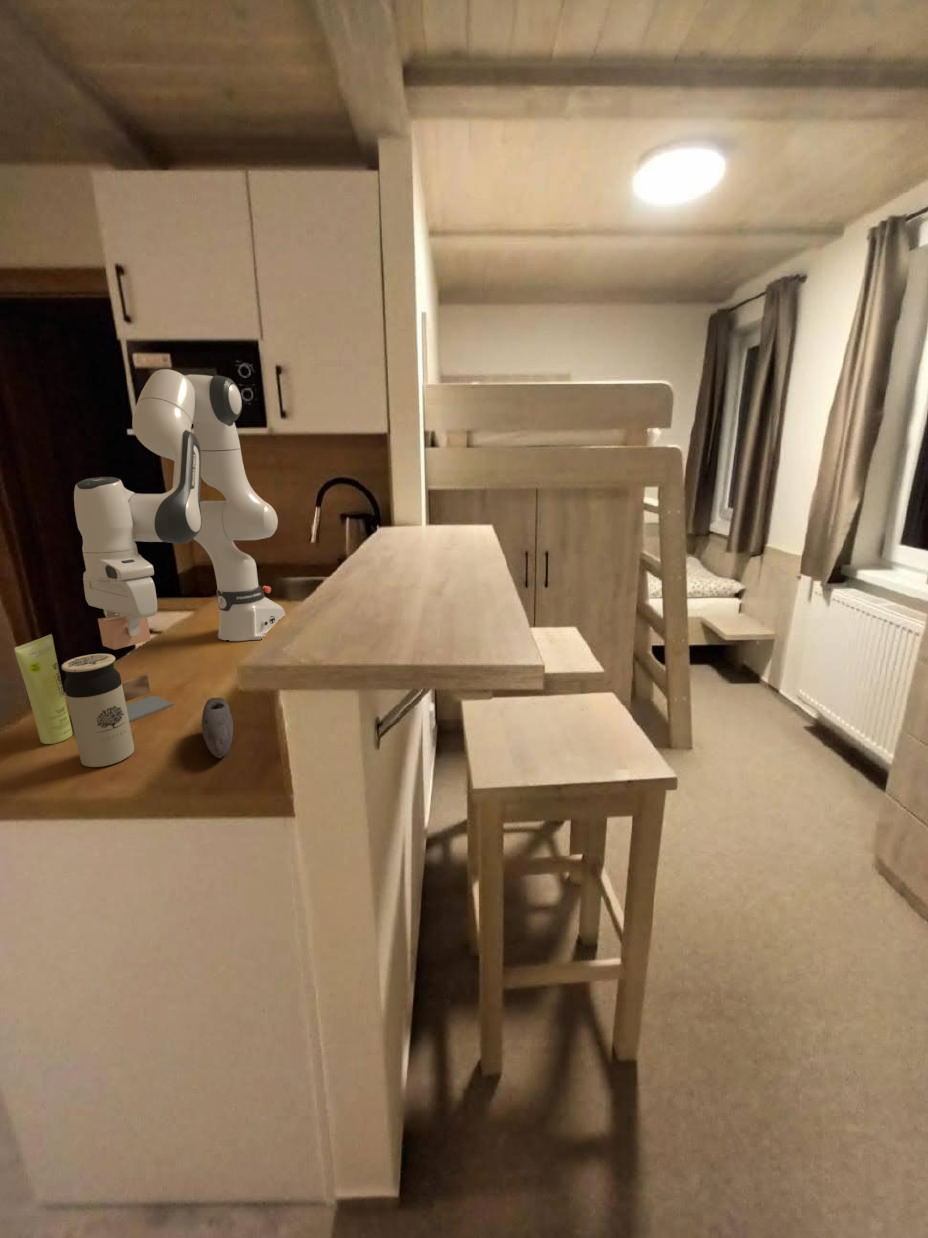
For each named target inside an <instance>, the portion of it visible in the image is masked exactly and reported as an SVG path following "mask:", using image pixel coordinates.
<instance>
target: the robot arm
mask: <svg viewBox="0 0 928 1238" xmlns="http://www.w3.org/2000/svg"><path fill="white" fill-rule="evenodd" d="M242 401H243V399H242V396H241V391H240V389H239V387H238V385H237V384H236V383H235V382H234V381H233V380H232V379H231V378H229V377H226V376H222V375H214V376H212V375H205V374H191V373H190V374H187V375H186V374H182V373H180V372H178V371H176V370H173V369H170V368H169V369H168V368H167V369H166V368H164V369H159V370H156V371H154V372H153V373H152V374H151V375H150V377H148V380H147V381H146V383H145V384H144V387H143V388H142V390H141V392H140V395H139V397H138V400H137V402H136V405H135V409H134V411H133V414H132V420H131V421H132V425H131V426H132V429H133V430H132V431H133V433H134V435H135V436H136V438H137V440H138V441H139V442H140V443H141V444H142V445H143V446H144V447H145V448H147V450H149V451H150V452H152V453H154V454H156V456H160V457H161V458H162V457H163V458H166V459H168V460H171V461H173V462H174V463H173V464H174V465H173V478H172V481H173V482H172V488H171V489H169V490H168V491H166V492H164V493H136V492H134V491H131V490H129V489H127V488H126V487H125V486H124V483H123V482H122V480H121V479H120V478H117V477H113V476H97V477H90V478H85V479H83V480H80V481H78V482H77V483H76V484H75V485H74V486H75V487H74V491H73V503H74V512H75V513H74V514H75V519H76V524H77V529H78V531H79V532H80V535H81V537H82V547H81V549H82V556H83V561H84V565H85V571H84V572H83V575H82V576H83V578H82V580H83V590H84V596H85V600H86V602H87V604H88V606H91V607H94V608H98V609H102V610H103V614H104V616H105V617H109V616H114V615H118V614H123V615H125V617H126V620H128V624H127V627H125V629H126V634H127V635H129V636H132V637H133V636H137V635H139V633H140V632H139V623H140V619H142V618H146V617H147V618H150V617H154V616H156V615H157V611H158V599H157V593H156V592H157V591H156V586H155V582H154V580H153V578H152V577H151V576H154V575H155V570H154V565H153V564H151V563H150V562H149V561H148V560H146V559H145V558H143V557H142V555H141V554H140V553H139V552H138V547H137V543H136V542H145V543H146V542H147V543H148V542H149V543H155V542H156V543H157V542H158V543H163V542H164V543H171V544H178V545H186V544H188V543H190V542H191V541H192V540H194V541H196V542H197V543H198V544H199V545H201V547H202V548H203V549H204V550H205V551H206V554H208V556H209V559H210V560H211V563H212V566H213V569H214V575H215V580H216V586H217V589H216V599H217V605H218V609H219V624H218V625H219V627H218V633H217V638H218V639H219V640H223V641H226V640H229V641H228V642H242V641H243V642H244V641H251V640H252V641H254V640H255V641H256V640H257V641H258V640H259V641H260V640H261V639H262V637H263V636H265V635H266V634H267V632H268V631H269V630H270V629H271V628H272V627H273V626H274V625H275V624H276V623H277V622H278V620H279V619H281V618H282V617H283V616H285V615H286V612H285V609H284V608H283V606H281V605H280V604H278V603H276V602H275V601H273V600H271V599H269V598H268V597H266V595H265V594H270V593H271V592H272V588H271V587H270V586H268V585H267V586H266V585H263V586H261V585H259V579H258V569H257V564H256V561H255V559H254V558H253V557H252V556H251V555H250V554H248V553H247V552H246V553H245V552H243V551H242V550H240V549H239V548H238V547H237V546H236V544H235V542H234V541H258V540H262V539H267V538H271V537H272V536H273V535H274V534H275V533H276V531H277V529H278V524H279V523H278V522H279V519H278V515H277V513H276V510H275V509H274V507H273V506H272V505H270V504H269V503H268V502H266V501H265V500H264V499H263V498H262V497H260V496H259V495H258V493H256V492H255V491H254V489H253V487H252V486H251V484H250V482H249V480H248V477H247V474H246V470H245V466H244V462H243V455H242V448H241V442H240V438H239V434H238V430H237V426H236V422H235V421H237V420H238V418H239V417H240V415H241V412H242V410H243V409H242V408H243V402H242ZM192 425H193V432H192ZM202 480H203V481H204V483H206V485H208V486H209V487H211V488H214V489H216V490H217V491H219V492H220V493H221V494H222V495H223V497H224V498H225V500H203V501H201V484H202V483H201V481H202ZM264 593H265V594H264ZM262 640H263V639H262ZM262 640H261V641H262Z"/></svg>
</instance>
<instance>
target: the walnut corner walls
mask: <svg viewBox="0 0 928 1238" xmlns="http://www.w3.org/2000/svg"><path fill="white" fill-rule="evenodd" d="M121 682H122V687H123V692H124V697H125V702H127V701H130V700H133V699H136V698H139V697H141V696H144V695H147V694H150V693H151V688H150V684H149V683H150V682H149V677H148V675H147V674H143V675H139V676H137V677H134V678H130V679H127V680H124V681H121Z"/></svg>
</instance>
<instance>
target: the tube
mask: <svg viewBox="0 0 928 1238" xmlns="http://www.w3.org/2000/svg"><path fill="white" fill-rule="evenodd" d="M53 637H54V636H53V635H52V633H50V634H48V635H46V636H43V637H41V638H38V639H35V640H32V641H30V642H27V643H24V644H21V645H19V646H15V647H14V648H13V649H14V654H15V657H16V660H17V664H18V666H19V669H20V673H21V675H22V680H23V683H24V686H25V689H26V692H27V696H28V699H29V702H30V707H31V711H32V714H33V717H34V722H35V724H36V729H37V733H38V737H39V741H40V743H42V744H45V745H52V744H53V745H54V744H58V743H61V742H64V741H66V740H68V739H70V738H71V737H72V735H73V733H74V731H73V727H72V724H71V723H72V722H71V718H70V715H69V714H70V713H69V709H68V707H67V705H68V704H67V700H66V695H65V690H64V686H63V683H62V678H61V673H60V669H59V664H58V659H57V654H56V649H55V643H54V638H53Z"/></svg>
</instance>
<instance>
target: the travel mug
mask: <svg viewBox="0 0 928 1238" xmlns="http://www.w3.org/2000/svg"><path fill="white" fill-rule="evenodd" d="M115 661H116V657H115V656H114V655H112V654H110V653H94V654H93V653H92V654H87V655H81V656H77V657H74V658H70V659H69V660H67V661H65V662H63V664H61V670H62V671H64V673H65V675H66V678H65V679H64V682H63V690H64V694H65V699H66V703H67V705H68V707H67V708H68V712H69V714H70V715H69V716H70V721H71V723H72V724H71V725H72V730H73V733H74V737H75V742H76V745H77V750H78V755H79V759H80V764H81V765H83V766H85V767H88V768H102V767H108V766H111V765H114V764H117V763H119V762H122V761H123V760H125V759H127V758H128V757H130V756H131V755H132V754H133V753H134V752H135V744H134V739H133V735H132V729H131V724H130V723H131V722H129V718H128V713H127V708H126V705H127V703H126V702H127V701H125V697H124V692H123V687H122V682H123V681H122V677H121V674H120V672H119V671H118V670H117V669H116V668H115Z"/></svg>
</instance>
